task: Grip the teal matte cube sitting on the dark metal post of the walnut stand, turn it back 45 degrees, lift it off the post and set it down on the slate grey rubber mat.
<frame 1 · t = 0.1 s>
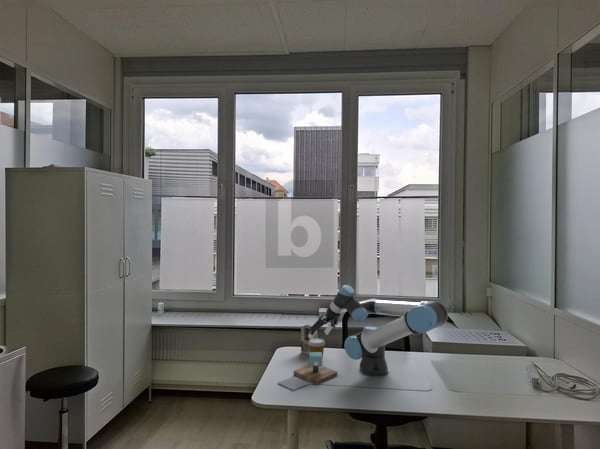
hand: (317, 335, 224), 15 cm above the table, tool tilted 35°, fingers open, 13 cm apart
post stand: (315, 375, 205), on the table
mat: (293, 384, 194), on the table
coffee box: (309, 353, 239), on the table
disposable coffee cup: (316, 361, 225), on the table
teal matte cube: (315, 363, 205), point 6 cm above the table, touching post stand
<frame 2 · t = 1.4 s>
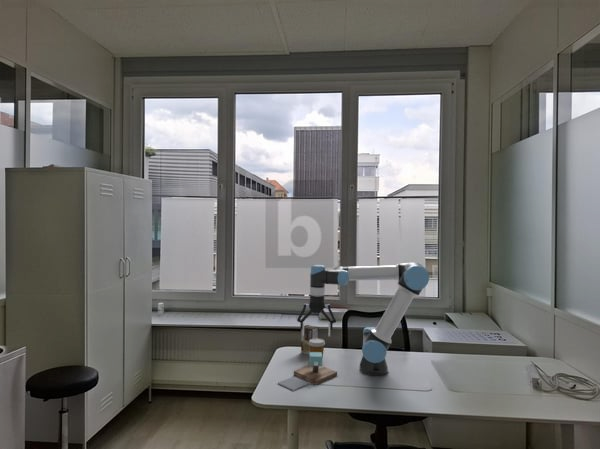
hand: (316, 335, 205), 21 cm above the table, tool pointing down, fingers open, 13 cm apart
nothing on the table moved.
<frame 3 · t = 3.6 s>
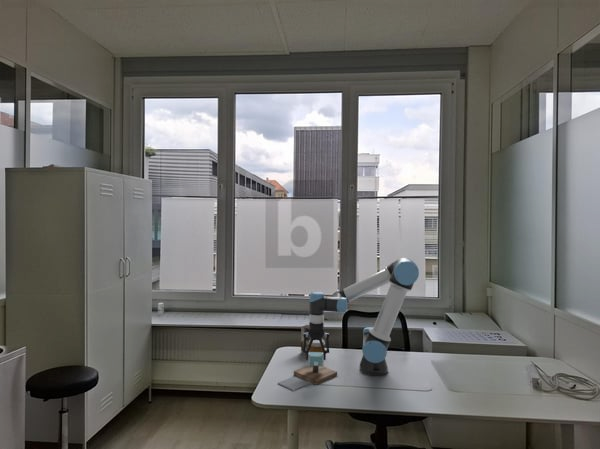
hand: (315, 365, 205), 5 cm above the table, tool pointing down, fingers closed on teal matte cube, 6 cm apart
teal matte cube: (315, 363, 205), point 6 cm above the table, touching gripper, post stand
everything else where it was.
when the fingers open (1 cm above the table, at t = 10.0 s): teal matte cube drops 2 cm, resting on mat.
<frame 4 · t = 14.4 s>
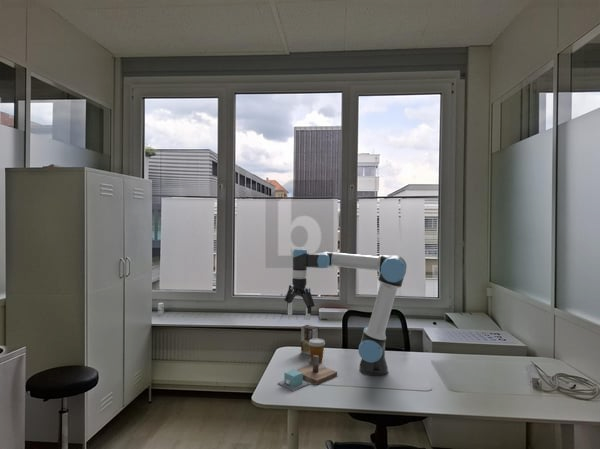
hand: (298, 317, 211), 29 cm above the table, tool pointing down, fingers open, 13 cm apart
teal matte cube: (293, 382, 194), point 1 cm above the table, touching mat
everything else where it was.
at the end: teal matte cube 0.1 cm off-centre on the mat, point 0.6 cm above the mat's base; teal matte cube tilted 0°; the gripper is holding nothing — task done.
